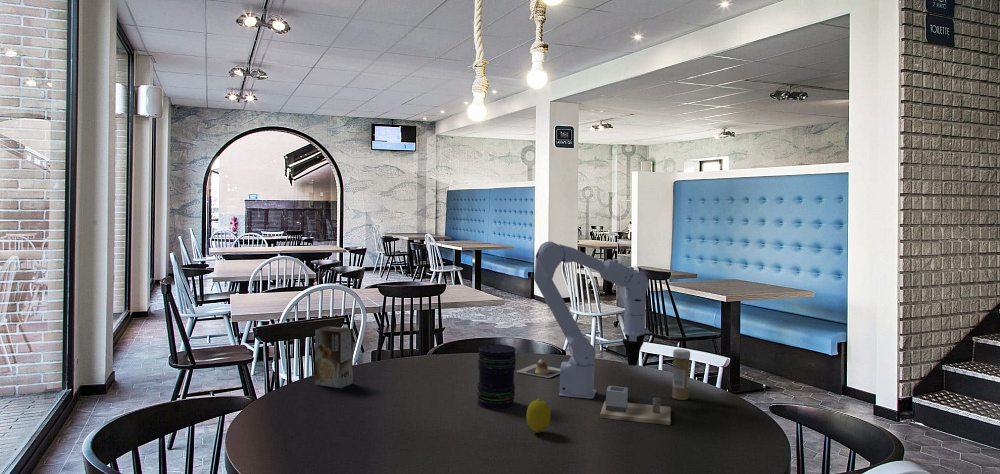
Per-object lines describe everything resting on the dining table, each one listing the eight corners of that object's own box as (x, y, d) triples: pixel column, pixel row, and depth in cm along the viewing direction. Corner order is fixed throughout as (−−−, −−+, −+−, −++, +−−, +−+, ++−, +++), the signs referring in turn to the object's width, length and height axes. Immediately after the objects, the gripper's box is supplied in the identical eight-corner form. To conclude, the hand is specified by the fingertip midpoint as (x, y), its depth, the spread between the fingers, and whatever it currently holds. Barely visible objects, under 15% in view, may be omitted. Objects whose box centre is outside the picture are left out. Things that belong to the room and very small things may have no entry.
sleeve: (605, 410, 166) (606, 390, 166) (607, 404, 171) (608, 385, 171) (625, 412, 165) (626, 392, 165) (627, 406, 170) (627, 387, 170)
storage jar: (520, 402, 175) (522, 346, 174) (505, 412, 166) (506, 353, 165) (487, 397, 179) (488, 342, 178) (470, 406, 170) (471, 349, 169)
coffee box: (353, 383, 189) (354, 328, 188) (340, 389, 183) (341, 332, 182) (327, 379, 192) (328, 325, 192) (313, 384, 187) (314, 329, 186)
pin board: (599, 417, 163) (600, 399, 163) (604, 404, 175) (605, 387, 175) (670, 425, 159) (670, 406, 159) (670, 410, 171) (671, 393, 170)
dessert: (567, 373, 210) (567, 358, 209) (549, 381, 199) (550, 365, 199) (534, 367, 216) (535, 353, 216) (515, 374, 206) (516, 359, 206)
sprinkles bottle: (692, 399, 182) (693, 351, 181) (680, 401, 179) (682, 352, 179) (679, 394, 186) (680, 347, 185) (668, 397, 183) (669, 349, 183)
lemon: (524, 428, 154) (525, 395, 153) (547, 428, 154) (548, 395, 154) (527, 437, 148) (528, 402, 148) (551, 437, 149) (552, 402, 148)
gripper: (648, 319, 175) (646, 369, 175) (650, 311, 189) (648, 357, 189) (621, 317, 177) (620, 367, 177) (625, 309, 191) (624, 355, 191)
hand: (633, 362), depth 183 cm, fingers open, 7 cm apart
